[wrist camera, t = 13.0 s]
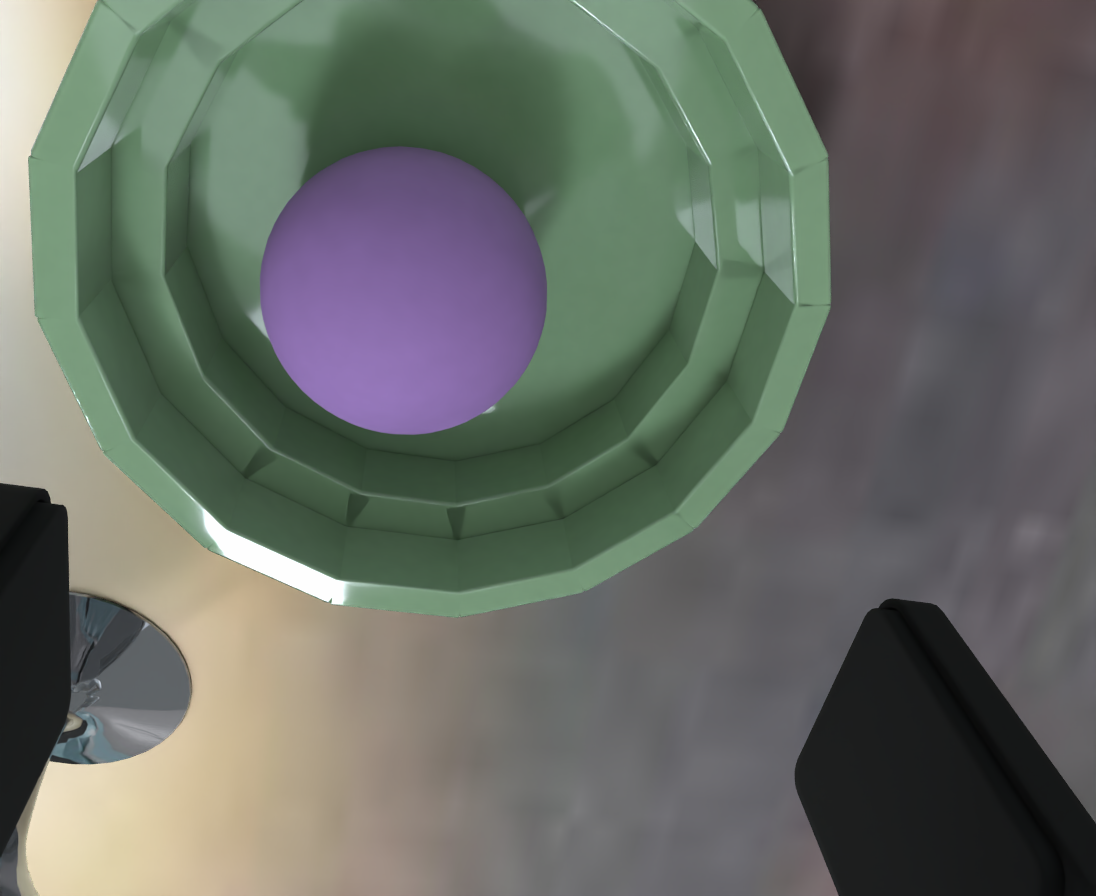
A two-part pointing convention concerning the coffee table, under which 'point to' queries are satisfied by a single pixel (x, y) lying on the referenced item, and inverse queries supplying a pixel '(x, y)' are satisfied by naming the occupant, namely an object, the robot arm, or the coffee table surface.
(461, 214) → the ball
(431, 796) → the coffee table surface
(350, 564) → the bowl
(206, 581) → the coffee table surface
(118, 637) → the wine glass
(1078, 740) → the coffee table surface
